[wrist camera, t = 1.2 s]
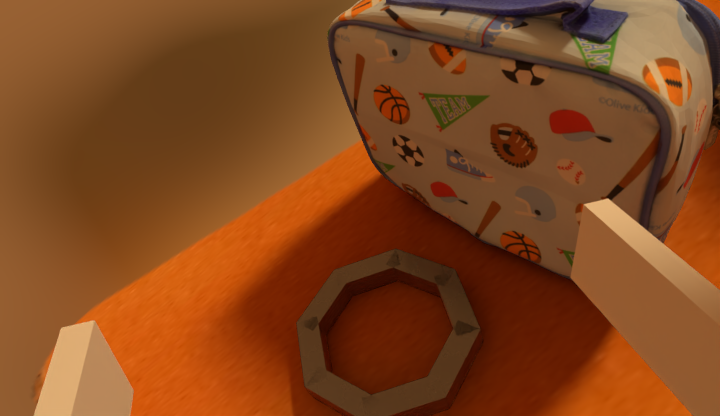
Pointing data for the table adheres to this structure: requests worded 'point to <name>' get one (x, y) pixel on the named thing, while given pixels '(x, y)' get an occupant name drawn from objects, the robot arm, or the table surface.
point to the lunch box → (533, 109)
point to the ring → (408, 401)
